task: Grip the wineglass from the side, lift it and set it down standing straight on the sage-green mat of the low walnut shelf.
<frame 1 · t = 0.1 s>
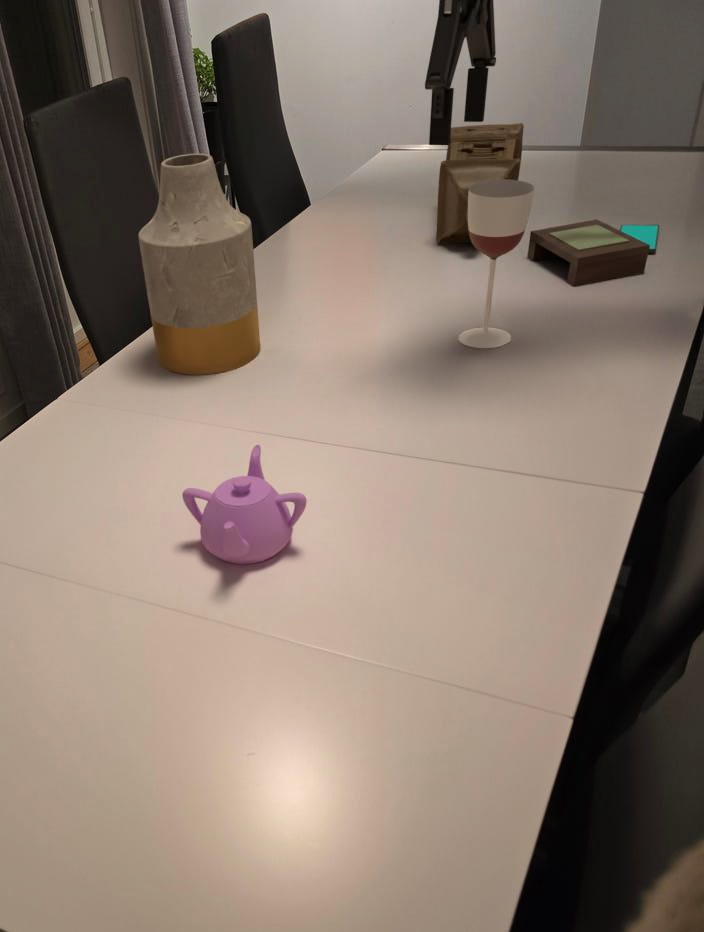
hand: (457, 132, 119), 32 cm above the table, tool pointing down, fingers open, 13 cm apart
wineglass: (484, 338, 141), on the table
smartphone: (636, 241, 168), on the table
ornamental box: (474, 232, 182), on the table
teapot: (247, 543, 104), on the table
shelf: (583, 265, 161), on the table
vase: (209, 353, 148), on the table
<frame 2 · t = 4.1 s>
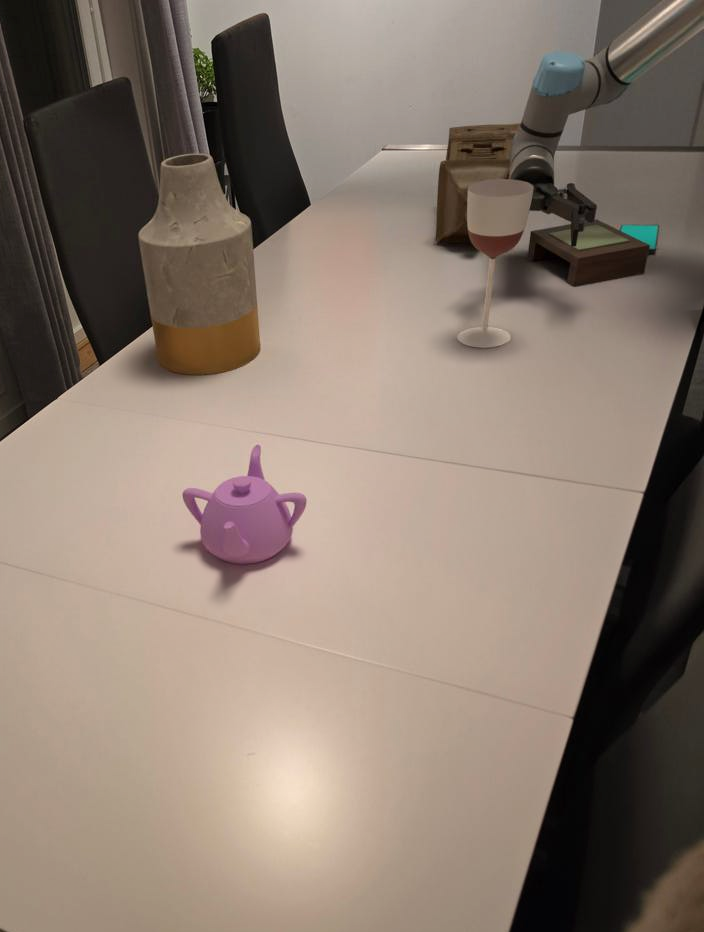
hand: (529, 240, 135), 14 cm above the table, tool horizontal, fingers open, 13 cm apart
nothing on the table moved.
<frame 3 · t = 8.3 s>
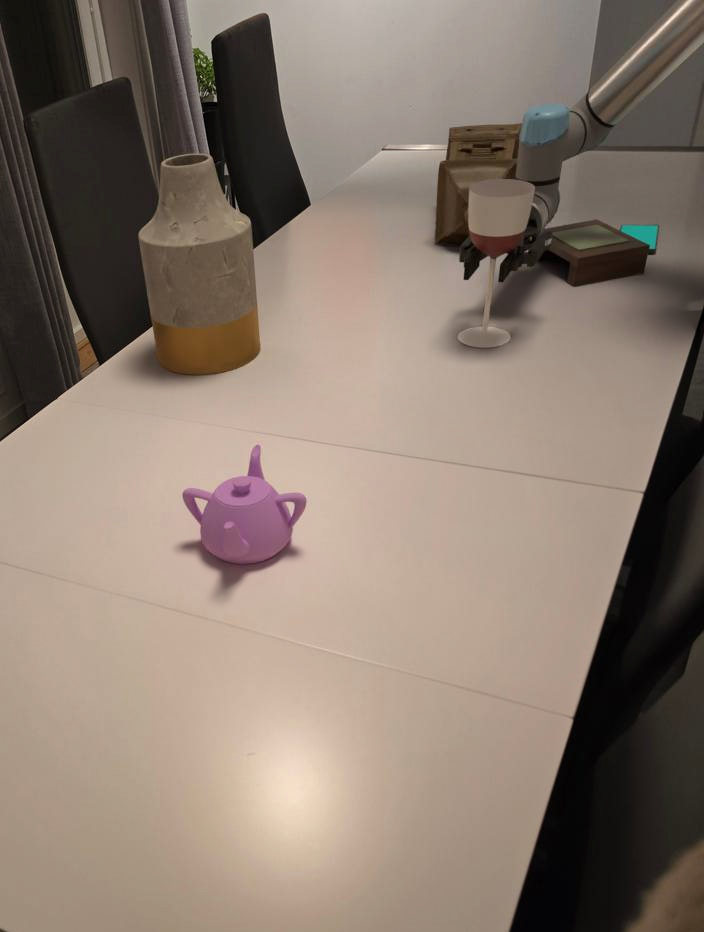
hand: (484, 272, 130), 13 cm above the table, tool horizontal, fingers closed on wineglass, 5 cm apart
wineglass: (483, 338, 142), on the table, touching gripper
everything else where it was.
when the fingers open (18 cm above the table, at t = 17.8 s): wineglass stays where it is, resting on shelf.
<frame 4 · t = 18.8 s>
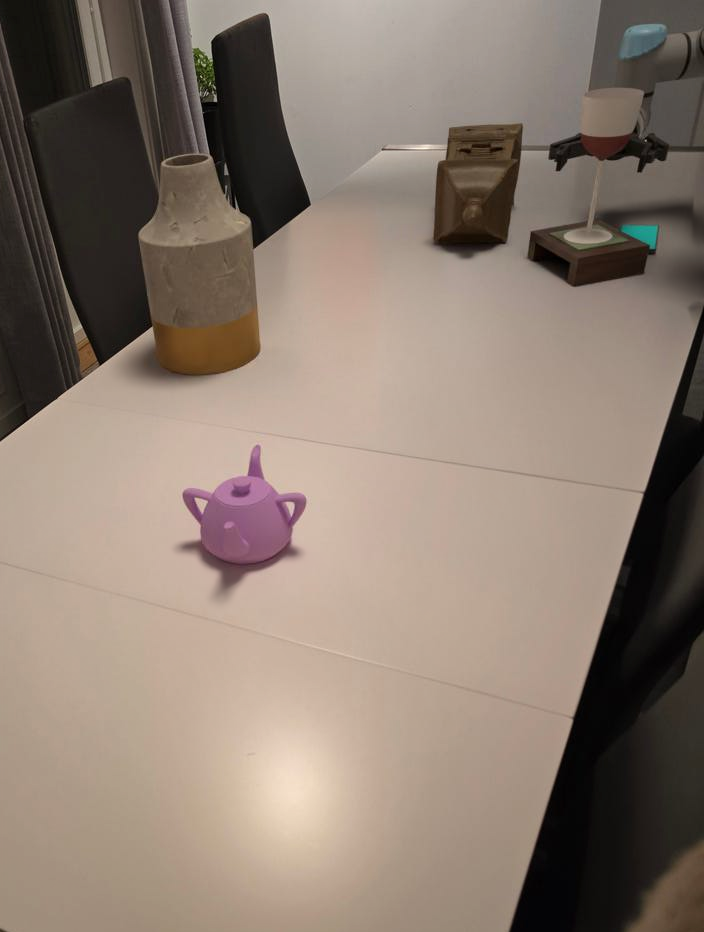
hand: (599, 163, 147), 18 cm above the table, tool horizontal, fingers open, 13 cm apart
wineglass: (587, 237, 158), point 5 cm above the table, touching shelf
everything else where it was.
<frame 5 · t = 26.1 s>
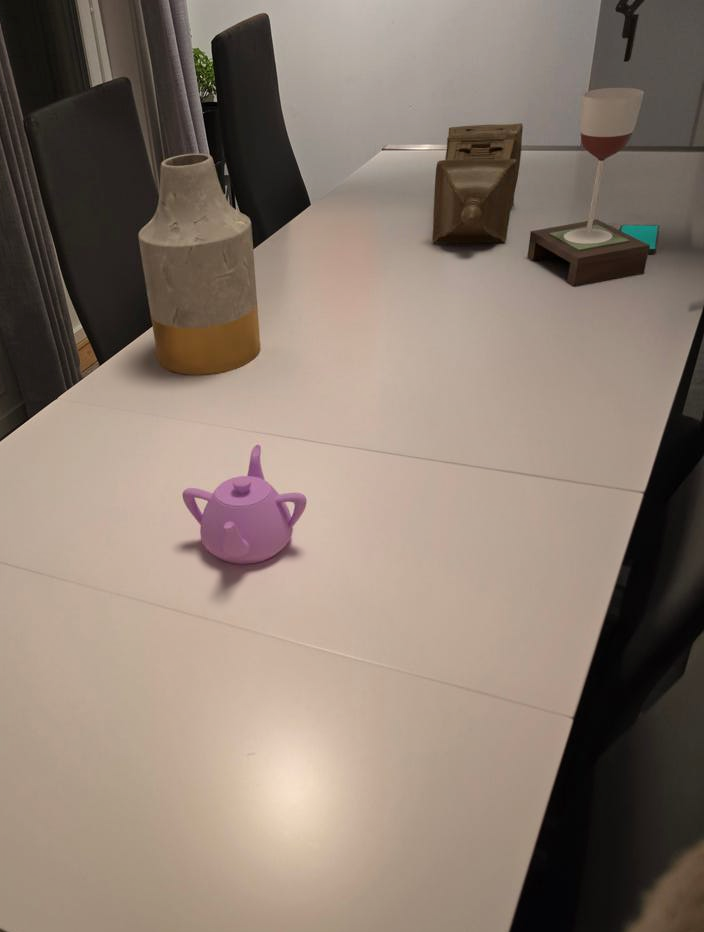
hand: (668, 59, 147), 31 cm above the table, tool pointing down, fingers open, 13 cm apart
nothing on the table moved.
at the end: wineglass inside the target area on the shelf (0.3 cm from its centre), point 5.0 cm above the shelf's base; wineglass tilted 0°; the gripper is holding nothing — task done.
